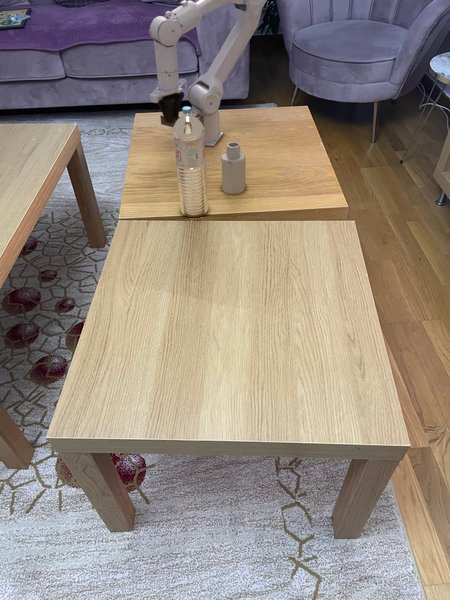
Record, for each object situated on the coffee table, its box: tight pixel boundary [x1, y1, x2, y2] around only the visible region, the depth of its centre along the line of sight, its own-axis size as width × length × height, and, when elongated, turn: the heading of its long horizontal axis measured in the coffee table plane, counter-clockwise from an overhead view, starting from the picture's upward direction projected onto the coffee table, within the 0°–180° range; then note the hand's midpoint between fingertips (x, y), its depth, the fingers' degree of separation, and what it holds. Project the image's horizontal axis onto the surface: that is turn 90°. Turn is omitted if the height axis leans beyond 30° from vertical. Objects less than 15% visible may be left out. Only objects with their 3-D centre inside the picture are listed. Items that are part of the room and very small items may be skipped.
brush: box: [159, 112, 204, 128], centre depth 128 cm, size 6×12×4 cm, turn 59°
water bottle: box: [172, 105, 209, 218], centre depth 102 cm, size 7×7×25 cm
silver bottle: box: [220, 141, 247, 195], centre depth 114 cm, size 6×6×12 cm
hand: (171, 120), depth 129 cm, fingers closed on brush, 2 cm apart
